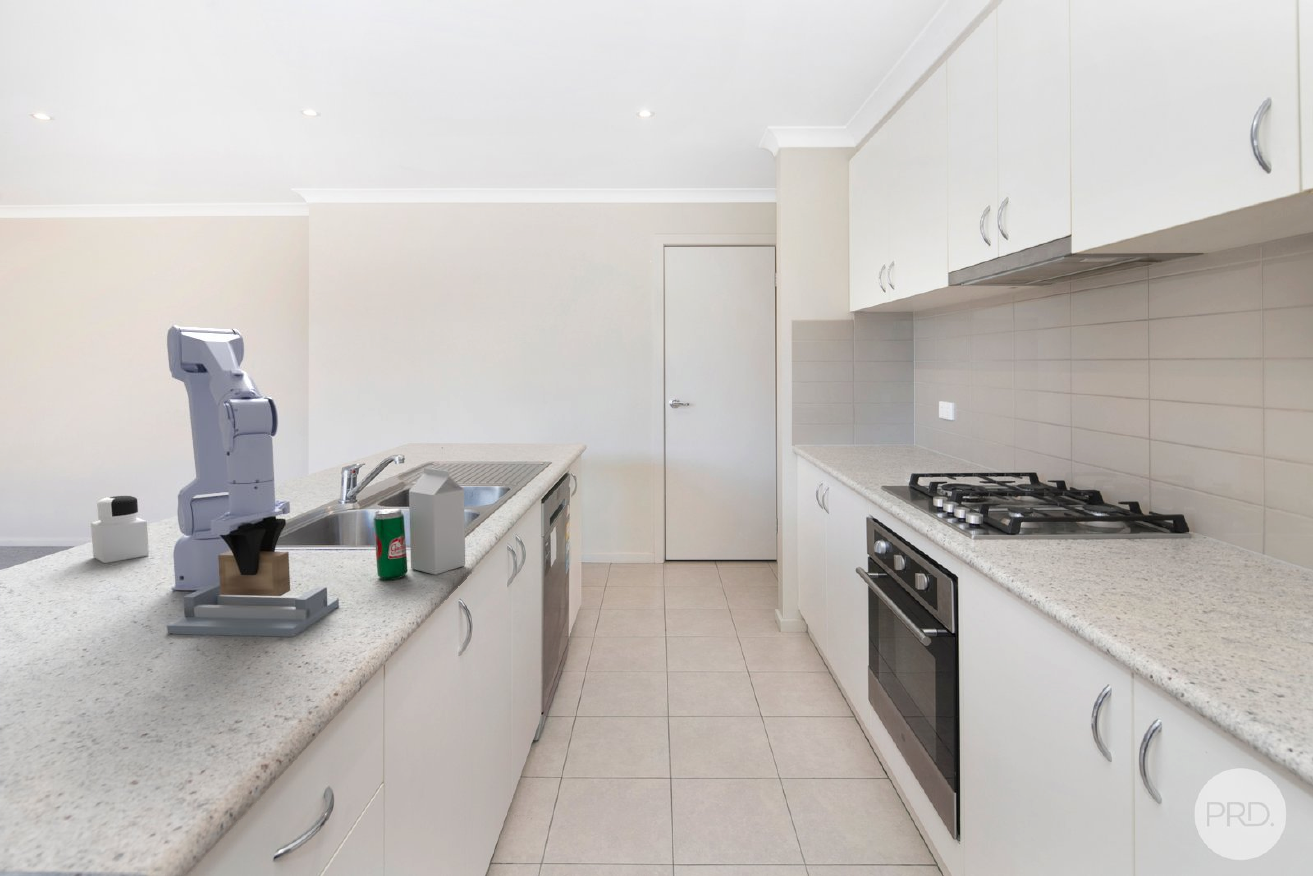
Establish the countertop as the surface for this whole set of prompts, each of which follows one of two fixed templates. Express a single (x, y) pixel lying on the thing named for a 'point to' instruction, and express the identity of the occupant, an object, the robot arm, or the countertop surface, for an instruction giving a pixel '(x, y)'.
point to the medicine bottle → (119, 530)
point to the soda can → (390, 544)
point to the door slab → (266, 581)
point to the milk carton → (436, 523)
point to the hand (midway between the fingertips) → (256, 571)
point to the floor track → (251, 613)
